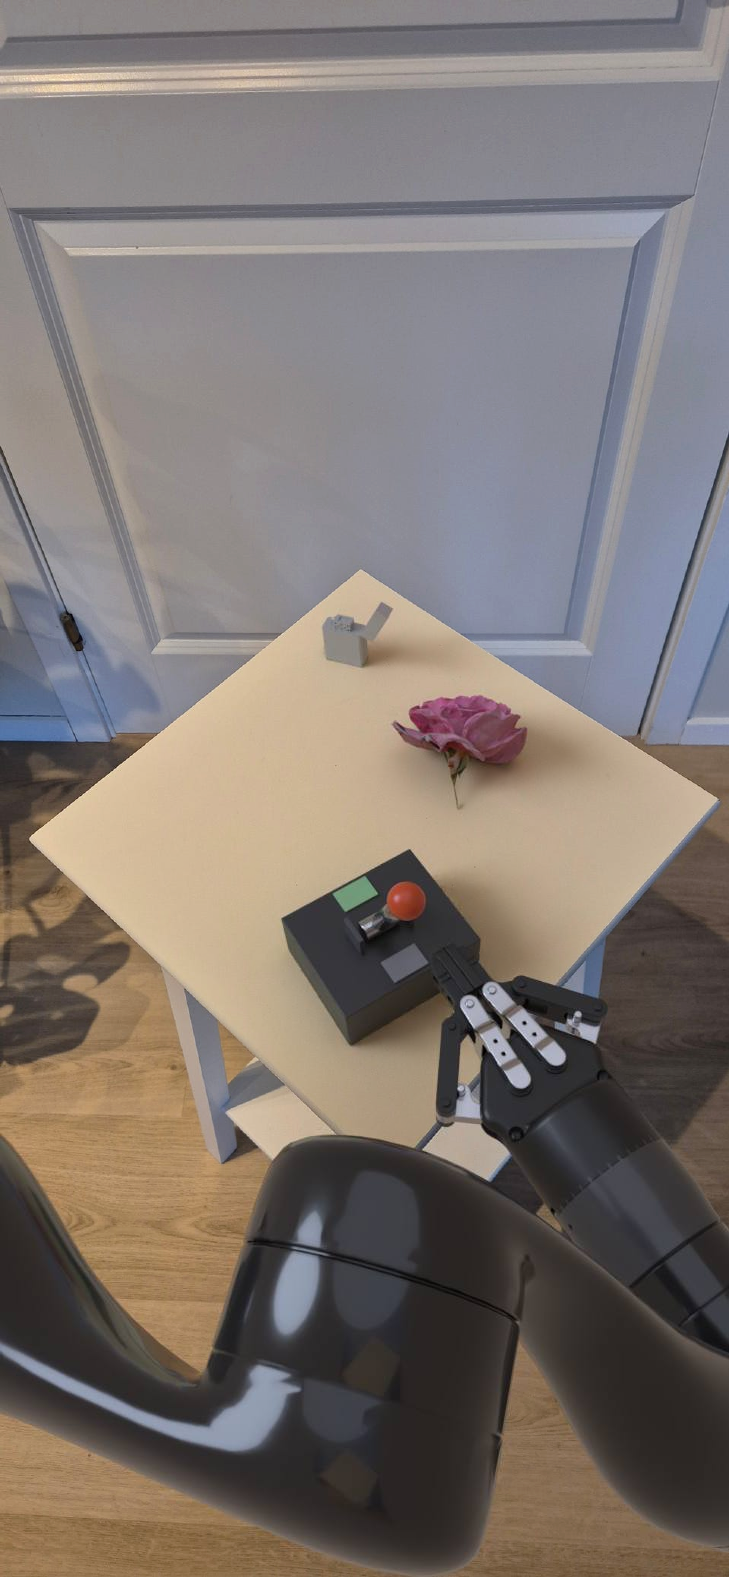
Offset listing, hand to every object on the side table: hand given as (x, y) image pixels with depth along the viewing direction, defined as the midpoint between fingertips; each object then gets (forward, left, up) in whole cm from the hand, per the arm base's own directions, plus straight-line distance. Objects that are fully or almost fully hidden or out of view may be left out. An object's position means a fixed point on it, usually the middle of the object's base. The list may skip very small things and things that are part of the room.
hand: (441, 953), depth 65 cm
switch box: (0, +8, -14) cm, 16 cm away
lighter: (+16, +38, -14) cm, 44 cm away
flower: (+17, +22, -14) cm, 31 cm away
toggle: (0, +9, -9) cm, 13 cm away
